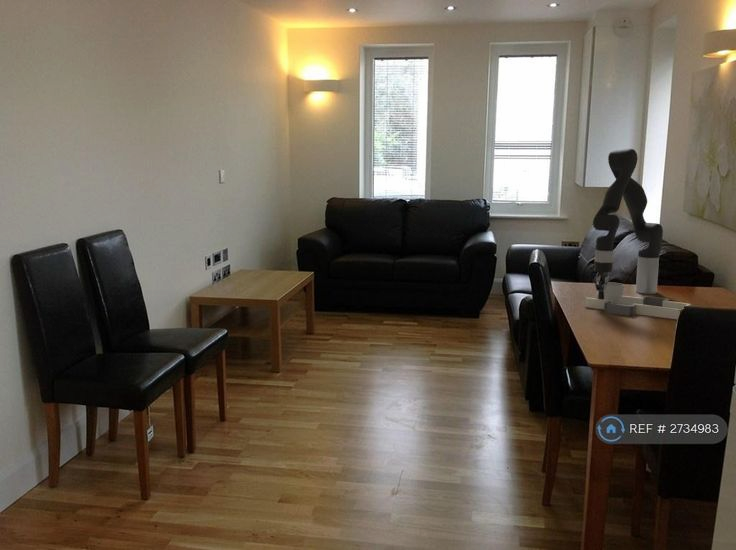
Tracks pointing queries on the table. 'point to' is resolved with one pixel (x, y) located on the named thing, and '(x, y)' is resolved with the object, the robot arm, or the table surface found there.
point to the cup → (613, 292)
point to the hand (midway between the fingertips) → (601, 299)
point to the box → (638, 306)
